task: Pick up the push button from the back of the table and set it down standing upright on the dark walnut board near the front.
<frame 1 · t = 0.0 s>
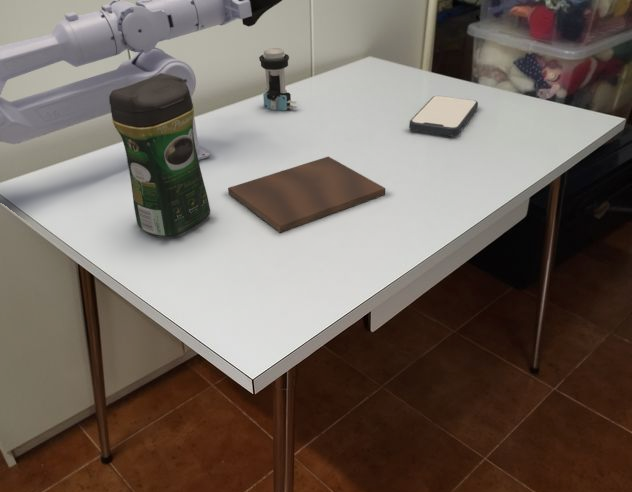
coffee jar: (174, 224, 85), on the table
phone case: (443, 120, 111), on the table
walnut board: (306, 194, 90), on the table
push button: (280, 109, 117), on the table
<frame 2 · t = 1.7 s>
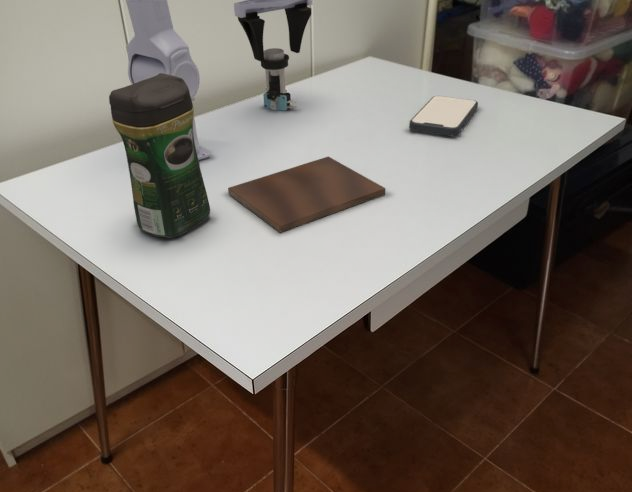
hand: (277, 55, 111), 9 cm above the table, tool pointing down, fingers open, 7 cm apart
nothing on the table moved.
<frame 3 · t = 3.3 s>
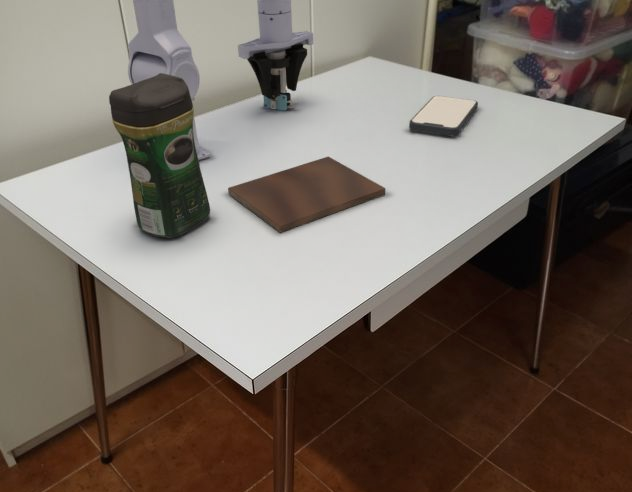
hand: (279, 92, 115), 3 cm above the table, tool pointing down, fingers closed on push button, 5 cm apart
push button: (280, 109, 117), on the table, touching gripper
everything else where it was.
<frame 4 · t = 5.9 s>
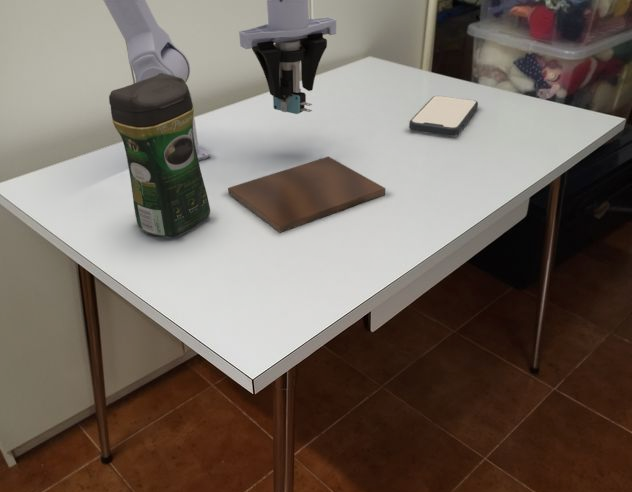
hand: (291, 92, 94), 10 cm above the table, tool pointing down, fingers closed on push button, 5 cm apart
push button: (292, 112, 96), point 7 cm above the table, touching gripper
everything else where it was.
when the fingers open (4 cm above the table, at t = 8.9 s): push button stays where it is, resting on walnut board.
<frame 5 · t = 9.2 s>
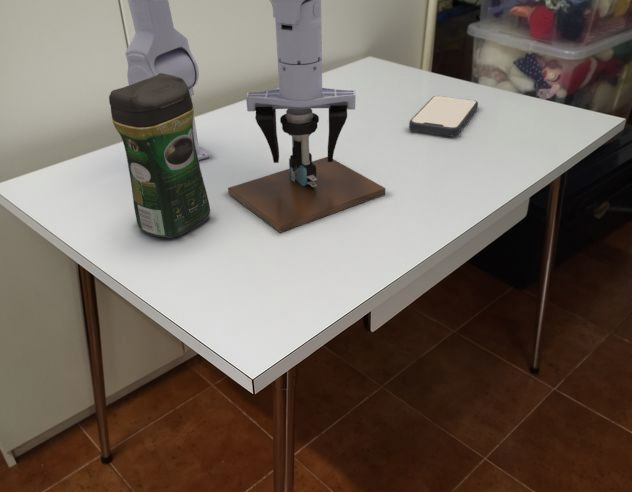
hand: (303, 159, 89), 4 cm above the table, tool pointing down, fingers open, 7 cm apart
push button: (303, 182, 91), point 1 cm above the table, touching walnut board
everything else where it was.
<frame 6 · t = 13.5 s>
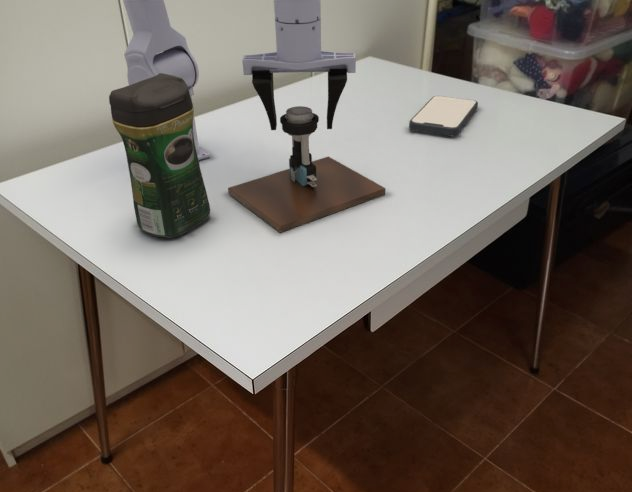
hand: (301, 127, 86), 9 cm above the table, tool pointing down, fingers open, 7 cm apart
nothing on the table moved.
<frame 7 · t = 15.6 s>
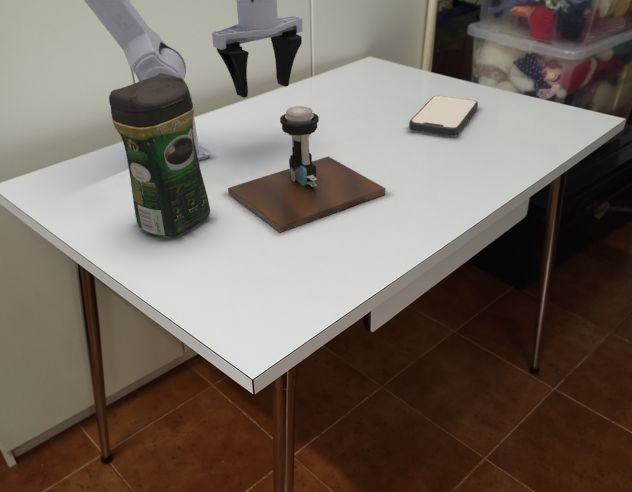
hand: (263, 90, 97), 9 cm above the table, tool pointing down, fingers open, 7 cm apart
nothing on the table moved.
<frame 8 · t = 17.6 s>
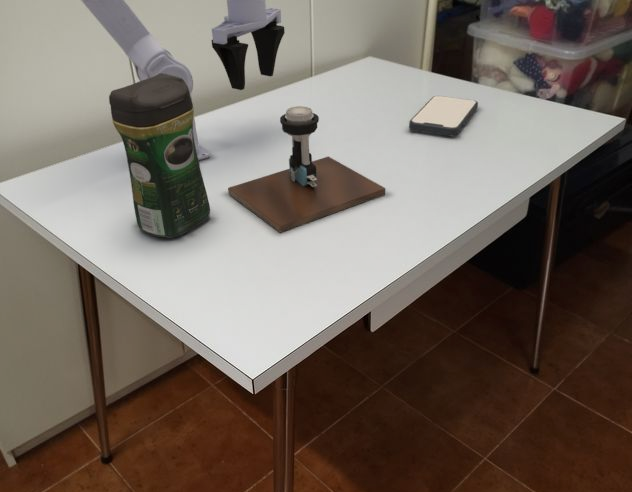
hand: (252, 81, 100), 9 cm above the table, tool pointing down, fingers open, 7 cm apart
nothing on the table moved.
at the end: push button inside the target area on the walnut board (2.2 cm from its centre), point 0.8 cm above the walnut board's base; push button tilted 0°; the gripper is holding nothing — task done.
